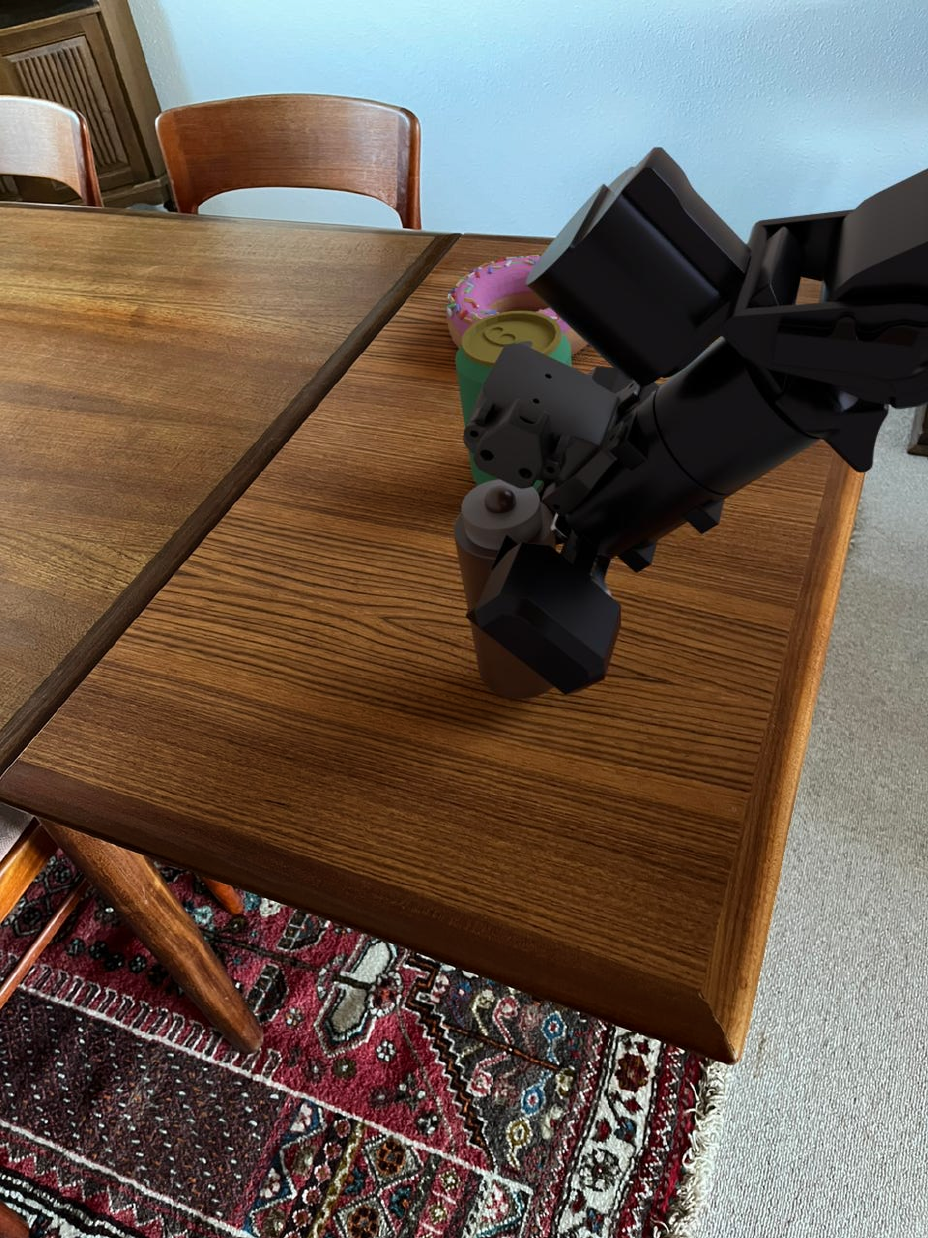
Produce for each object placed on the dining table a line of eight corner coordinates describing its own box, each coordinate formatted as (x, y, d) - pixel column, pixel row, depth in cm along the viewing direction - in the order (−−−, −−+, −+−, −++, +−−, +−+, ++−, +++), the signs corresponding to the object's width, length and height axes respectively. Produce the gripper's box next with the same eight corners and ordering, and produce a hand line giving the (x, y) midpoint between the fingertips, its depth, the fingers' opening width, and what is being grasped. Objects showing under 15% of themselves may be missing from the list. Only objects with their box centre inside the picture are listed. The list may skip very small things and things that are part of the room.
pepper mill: (544, 623, 58) (526, 446, 49) (579, 681, 55) (568, 501, 45) (466, 651, 58) (433, 477, 48) (497, 711, 54) (468, 536, 44)
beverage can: (512, 524, 68) (496, 382, 60) (453, 474, 73) (430, 336, 65) (597, 478, 71) (594, 335, 62) (534, 432, 76) (523, 294, 67)
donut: (624, 305, 88) (624, 253, 85) (573, 387, 80) (571, 334, 76) (485, 291, 93) (479, 242, 90) (424, 367, 85) (415, 316, 81)
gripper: (615, 210, 44) (434, 395, 55) (498, 445, 32) (299, 618, 44) (771, 368, 47) (570, 511, 59) (716, 633, 36) (477, 749, 47)
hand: (488, 584), depth 52 cm, fingers closed on pepper mill, 5 cm apart
